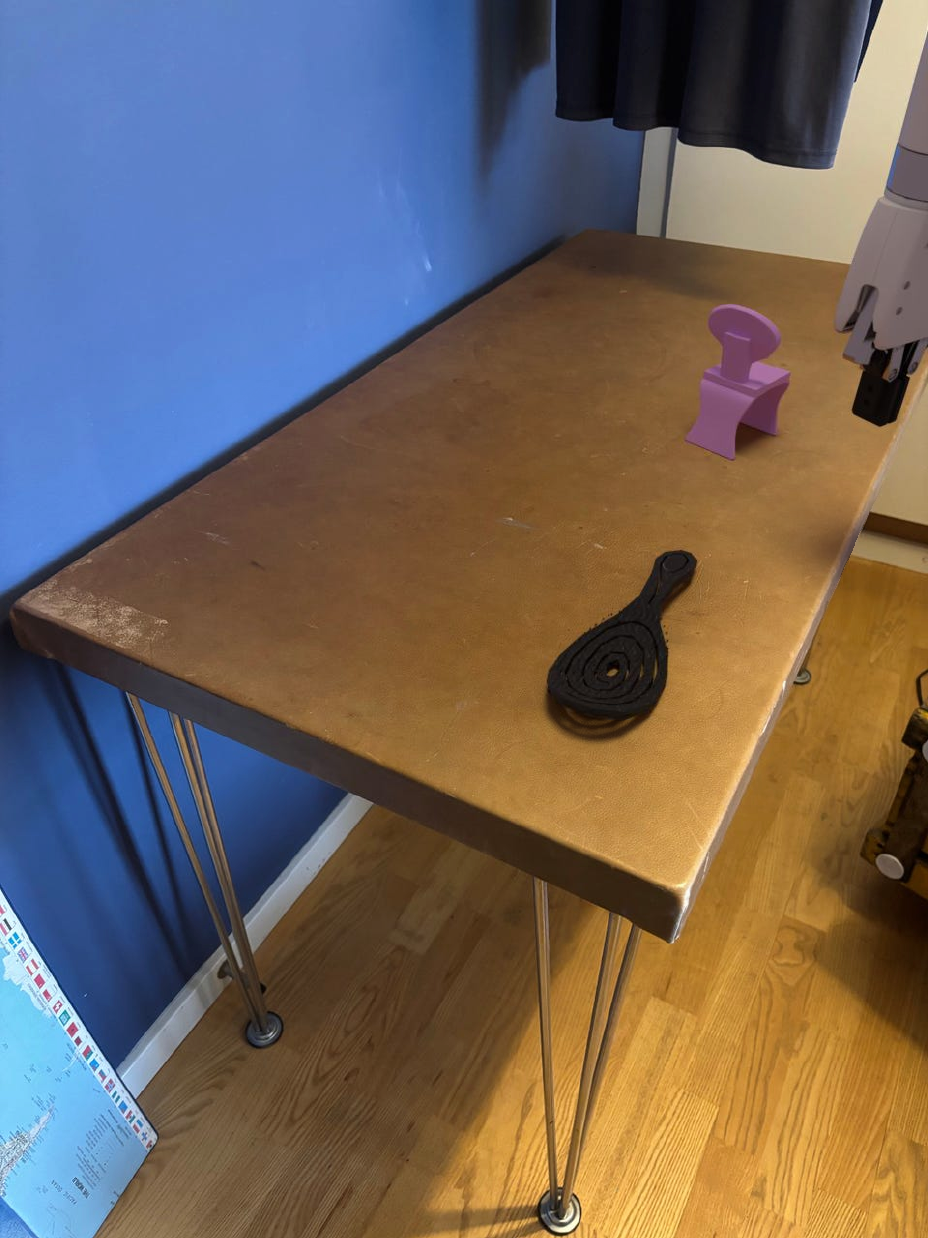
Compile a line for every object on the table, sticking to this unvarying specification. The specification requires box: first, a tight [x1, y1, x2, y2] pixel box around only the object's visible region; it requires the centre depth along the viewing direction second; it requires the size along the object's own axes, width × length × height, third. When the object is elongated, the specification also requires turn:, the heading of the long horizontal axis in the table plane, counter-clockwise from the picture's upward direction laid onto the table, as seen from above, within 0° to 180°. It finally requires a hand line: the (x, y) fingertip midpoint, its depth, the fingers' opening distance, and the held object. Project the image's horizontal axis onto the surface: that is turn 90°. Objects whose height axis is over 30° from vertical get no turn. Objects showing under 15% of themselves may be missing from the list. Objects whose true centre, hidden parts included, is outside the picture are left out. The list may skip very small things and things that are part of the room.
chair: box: [684, 303, 792, 461], centre depth 95 cm, size 8×9×15 cm
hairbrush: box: [546, 549, 698, 721], centre depth 73 cm, size 8×4×25 cm
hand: (872, 417), depth 75 cm, fingers closed
